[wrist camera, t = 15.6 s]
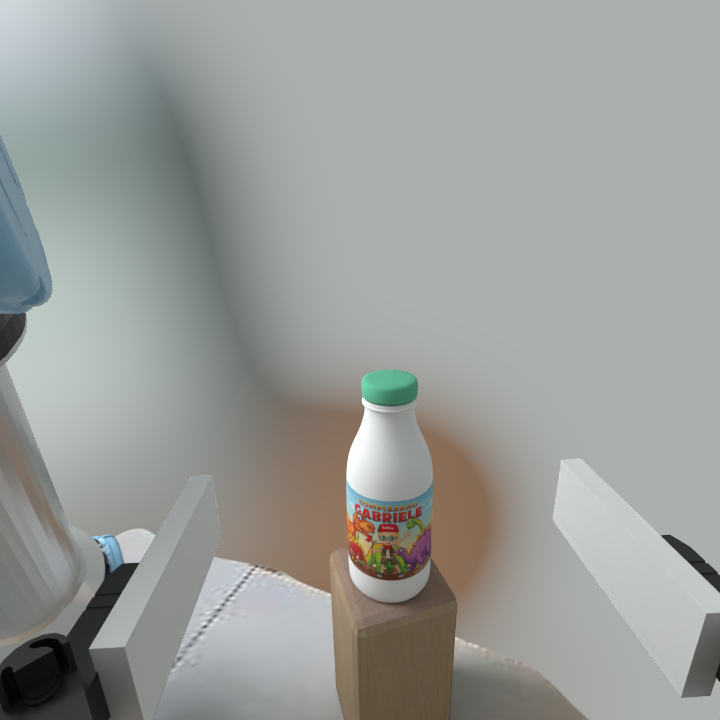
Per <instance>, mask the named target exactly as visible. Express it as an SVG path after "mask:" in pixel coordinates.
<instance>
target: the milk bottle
mask: <svg viewBox="0 0 720 720" xmlns="http://www.w3.org/2000/svg"><path fill="white" fill-rule="evenodd" d="M417 391H418V382H417V378H416V377H415V376H414V375H412V374H411V373H408V372H405V371H400V370H379V371H374V372H371V373H368V374H367V375H365V376H364V377H363V379H362V396H363V398H362V403H363V405H364V406H365V413H364V417H363V421H362V424H361V427H360V429H359V431H358V433H357V436H356V438H355V439H354V442H353V444H352V446H351V449H350V453H349V457H348V463H347V487H346V489H347V525H348V526H347V527H348V555H349V571H350V576H351V578H352V581H353V582H354V584H355V585H356V587H357V588H358V589H359V590H360V591H361V593H363V594H364V595H366V596H367V597H369V598H371V599H373V600H376V601H380V602H384V603H399V602H402V601H407V600H409V599H411V598H413V597H414V596H416V595H417V594H419V593H420V591H421V590H422V589H423V588H424V586H425V585H426V583H427V581H428V578H429V573H430V557H431V530H432V500H433V499H432V498H433V471H432V462H431V457H430V453H429V450H428V447H427V445H426V442H425V440H424V438H423V436H422V434H421V432H420V429H419V427H418V424H417V421H416V417H415V413H414V407H415V406H416V404H417V398H416V397H417V393H418V392H417Z"/></svg>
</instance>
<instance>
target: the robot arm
mask: <svg viewBox="0 0 720 720" xmlns="http://www.w3.org/2000/svg"><path fill="white" fill-rule="evenodd" d="M51 294H52V281H51V276H50V271H49V268H48V265H47V260H46V256H45V253H44V249H43V246H42V244H41V240H40V237H39V234H38V232H37V229H36V227H35V225H34V222H33V219H32V216H31V214H30V211H29V208H28V206H27V204H26V200H25V196H24V193H23V190H22V188H21V185H20V182H19V180H18V177H17V175H16V172H15V170H14V167H13V165H12V162H11V160H10V158H9V155H8V153H7V150H6V148H5V145H4V143H3V141H2V138H1V136H0V720H109V719H110V720H152V718H153V715H154V713H155V710H156V707H157V705H158V702H159V700H160V697H161V694H162V692H163V689H164V686H165V684H166V681H167V678H168V676H169V673H170V671H171V668H172V665H173V663H174V660H175V657H176V655H177V652H178V650H179V647H180V644H181V642H182V639H183V636H184V634H185V631H186V628H187V626H188V623H189V621H190V618H191V615H192V613H193V610H194V607H195V605H196V602H197V600H198V597H199V594H200V592H201V589H202V586H203V584H204V581H205V578H206V576H207V573H208V571H209V568H210V565H211V563H212V560H213V557H214V555H215V552H216V549H217V547H218V544H219V542H220V539H221V536H222V535H221V528H220V522H219V515H218V508H217V501H216V495H215V488H214V481H213V475H192V476H191V477H190V479H189V481H188V482H187V484H186V486H185V487H184V489H183V491H182V492H181V494H180V496H179V497H178V499H177V501H176V503H175V504H174V506H173V508H172V509H171V511H170V513H169V515H168V516H167V518H166V520H165V521H164V523H163V524H162V526H161V528H160V530H159V531H158V533H157V535H156V536H155V538H154V540H153V541H152V543H151V545H150V546H149V548H148V550H147V551H146V553H145V555H144V557H143V558H142V560H141V562H140V563H125V564H124V560H123V556H122V552H121V549H120V546H119V543H118V541H117V540H116V538H115V537H114V536H112V535H103V536H93V537H91V536H90V535H89V534H87V533H86V532H84V531H82V530H80V529H77V528H75V527H71V526H69V524H68V522H67V519H66V516H65V514H64V511H63V509H62V506H61V503H60V501H59V498H58V496H57V493H56V491H55V488H54V486H53V483H52V481H51V478H50V476H49V473H48V471H47V468H46V466H45V463H44V460H43V458H42V455H41V453H40V450H39V448H38V445H37V442H36V440H35V437H34V435H33V432H32V430H31V427H30V425H29V422H28V420H27V417H26V414H25V412H24V410H23V407H22V404H21V402H20V399H19V397H18V394H17V392H16V389H15V387H14V384H13V382H12V379H11V376H10V374H9V371H8V369H7V366H6V364H5V363H6V362H7V361H8V360H9V359H10V358H11V356H12V355H13V354H14V353H15V352H16V350H17V349H18V347H19V346H20V344H21V342H22V341H23V338H24V335H25V333H26V326H27V318H26V313H25V312H27V311H28V310H30V309H31V308H32V307H35V306H39V305H42V304H44V303H45V302H47V301H48V299H49V298H50V296H51ZM553 521H554V523H555V524H556V525H557V527H558V528H559V529H560V531H561V532H562V534H563V535H564V536H565V538H566V539H567V540H568V542H569V543H570V545H571V546H572V548H573V549H574V550H575V552H576V553H577V554H578V556H579V557H580V559H581V560H582V561H583V563H584V564H585V565H586V567H587V568H588V570H589V571H590V572H591V574H592V575H593V577H594V578H595V579H596V581H597V582H598V584H599V585H600V586H601V588H602V589H603V591H604V592H605V593H606V595H607V596H608V597H609V599H610V600H611V602H612V603H613V604H614V606H615V607H616V609H617V610H618V611H619V613H620V614H621V615H622V617H623V618H624V619H625V621H626V622H627V624H628V625H629V626H630V628H631V629H632V631H633V632H634V633H635V635H636V636H637V638H638V639H639V640H640V642H641V643H642V645H643V646H644V647H645V649H646V650H647V652H648V653H649V654H650V656H651V657H652V658H653V660H654V661H655V662H656V664H657V665H658V667H659V668H660V669H661V671H662V672H663V674H664V675H665V677H666V678H667V679H668V681H669V682H670V683H671V685H672V686H673V688H674V689H675V690H676V692H677V693H678V695H679V696H680V697H681V698H682V697H698V696H710V695H711V692H712V689H713V686H714V683H715V680H716V678H717V679H718V680H719V681H720V575H718V573H717V571H716V570H714V569H713V568H712V567H711V566H710V565H709V564H708V563H705V560H704V559H703V558H702V557H700V556H699V555H698V554H697V553H696V552H695V551H694V550H693V549H692V548H691V547H689V546H688V545H686V544H684V543H683V542H681V541H679V540H678V539H676V538H674V537H673V536H671V535H659V534H658V533H657V532H656V531H655V530H654V529H653V528H652V527H651V526H650V525H649V524H648V523H647V522H646V521H645V520H644V519H643V518H642V517H641V516H640V515H638V513H636V511H635V510H633V509H632V508H631V507H630V506H629V505H628V504H627V503H626V502H625V501H624V500H623V499H622V498H621V497H620V496H619V495H618V494H617V493H616V492H615V491H614V490H613V489H612V488H611V487H610V486H609V485H608V484H607V483H606V482H605V481H604V480H603V479H601V478H600V477H599V476H598V475H597V474H596V473H595V472H594V471H593V470H592V469H591V468H590V467H589V466H588V465H587V464H586V463H585V462H584V461H583V460H582V459H563V460H561V466H560V473H559V480H558V486H557V493H556V500H555V507H554V514H553Z"/></svg>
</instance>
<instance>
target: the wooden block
mask: <svg viewBox="0 0 720 720" xmlns="http://www.w3.org/2000/svg"><path fill="white" fill-rule="evenodd" d="M330 577H331V597H332V616H333V635H334V654H335V673H336V688H337V692H338V696H339V700H340V704H341V708H342V712H343V716H344V720H449V719H450V704H451V689H452V674H453V659H454V644H455V628H456V614H457V603H456V598H455V596H454V594H453V592H452V591H451V589H450V588H449V586H448V584H447V583H446V581H445V580H444V578H443V576H442V575H441V573H440V572H439V570H438V568H437V567H436V565H435V564H434V562H433V560H432V559H431V557H430V573H429V578H428V581H427V583H426V585H425V586H424V588H423V589H422V590H421V591H420V593H419V594H417V595H416V596H414V597H413V598H411V599H409V600H407V601H402V602H399V603H384V602H380V601H376V600H373V599H371V598H369V597H367V596H366V595H364V594H363V593H361V591H360V590H359V589H358V588H357V587H356V585H355V584H354V582H353V581H352V578H351V576H350V571H349V555H348V547H345V548H341V549H337V550H335V551H334V552H332V554H331V558H330Z"/></svg>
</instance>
